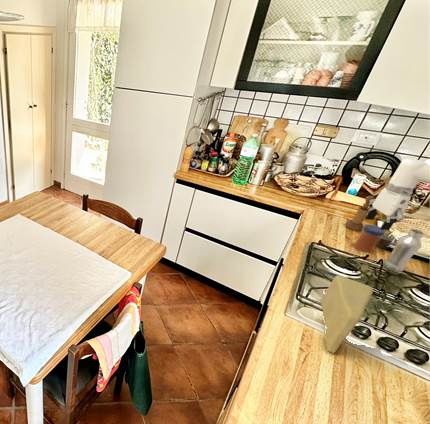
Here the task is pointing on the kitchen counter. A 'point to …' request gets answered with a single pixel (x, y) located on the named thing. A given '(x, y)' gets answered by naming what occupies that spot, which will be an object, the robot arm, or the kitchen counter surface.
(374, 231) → the jar lid
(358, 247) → the jam jar
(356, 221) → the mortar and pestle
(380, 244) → the lid stand
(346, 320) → the cheese
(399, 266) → the plastic bottle
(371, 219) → the robot arm
